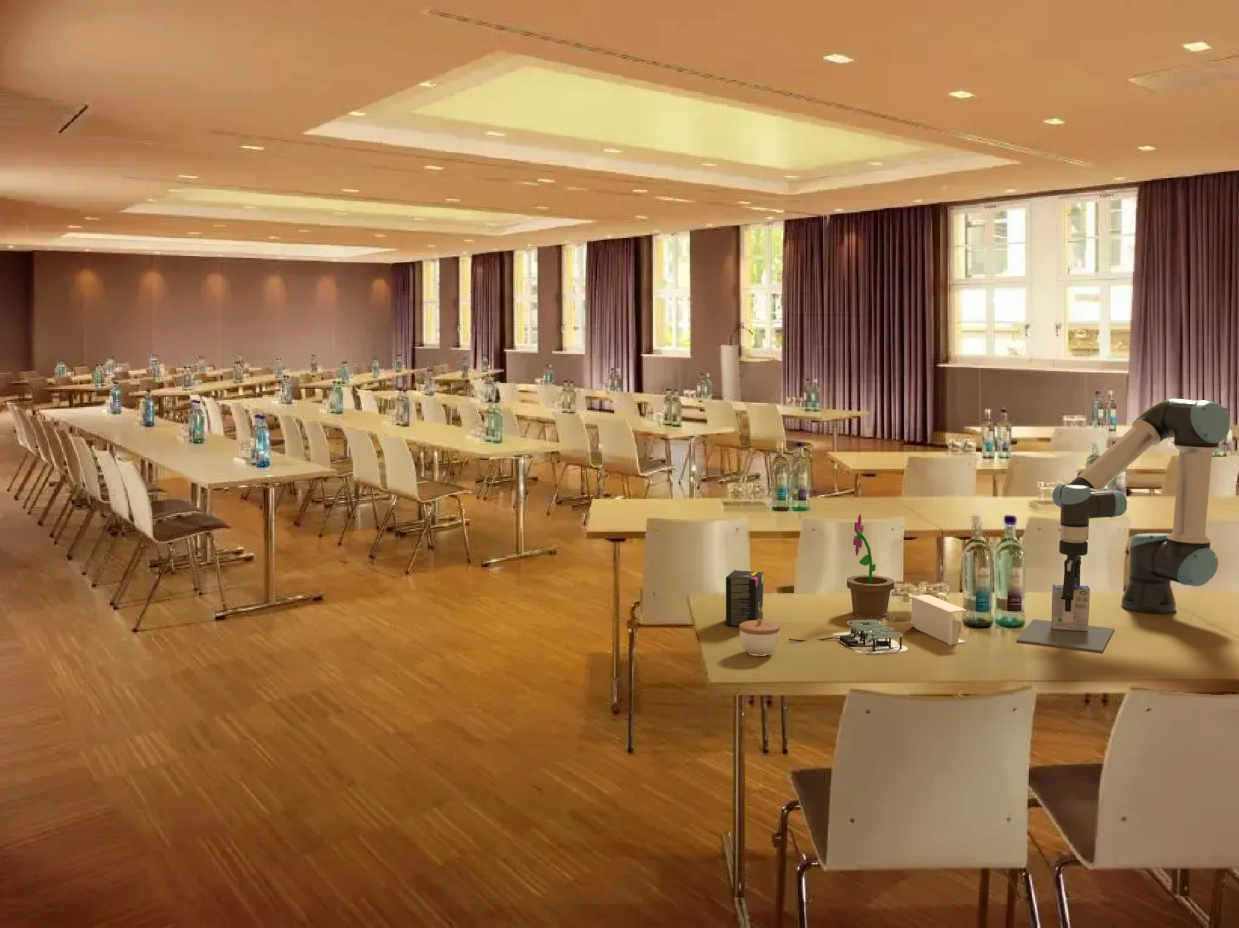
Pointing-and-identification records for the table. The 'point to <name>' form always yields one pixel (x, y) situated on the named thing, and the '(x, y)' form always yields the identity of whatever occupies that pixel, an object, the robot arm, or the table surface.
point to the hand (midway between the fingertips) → (1070, 618)
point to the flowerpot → (868, 584)
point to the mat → (1066, 636)
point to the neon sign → (870, 637)
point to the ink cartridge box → (1080, 608)
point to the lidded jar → (759, 636)
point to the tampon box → (744, 597)
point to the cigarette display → (936, 618)
